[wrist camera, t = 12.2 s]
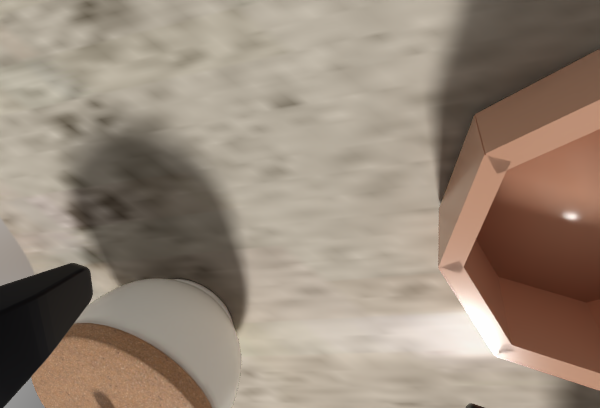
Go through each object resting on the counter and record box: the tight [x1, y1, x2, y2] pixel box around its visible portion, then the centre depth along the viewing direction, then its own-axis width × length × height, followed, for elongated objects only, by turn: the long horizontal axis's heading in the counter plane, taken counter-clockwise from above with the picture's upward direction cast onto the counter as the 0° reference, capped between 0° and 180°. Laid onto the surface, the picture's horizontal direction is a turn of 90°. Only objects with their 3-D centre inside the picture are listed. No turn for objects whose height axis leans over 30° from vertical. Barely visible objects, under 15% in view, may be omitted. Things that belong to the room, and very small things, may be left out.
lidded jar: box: [31, 278, 241, 408], centre depth 24 cm, size 11×11×9 cm
